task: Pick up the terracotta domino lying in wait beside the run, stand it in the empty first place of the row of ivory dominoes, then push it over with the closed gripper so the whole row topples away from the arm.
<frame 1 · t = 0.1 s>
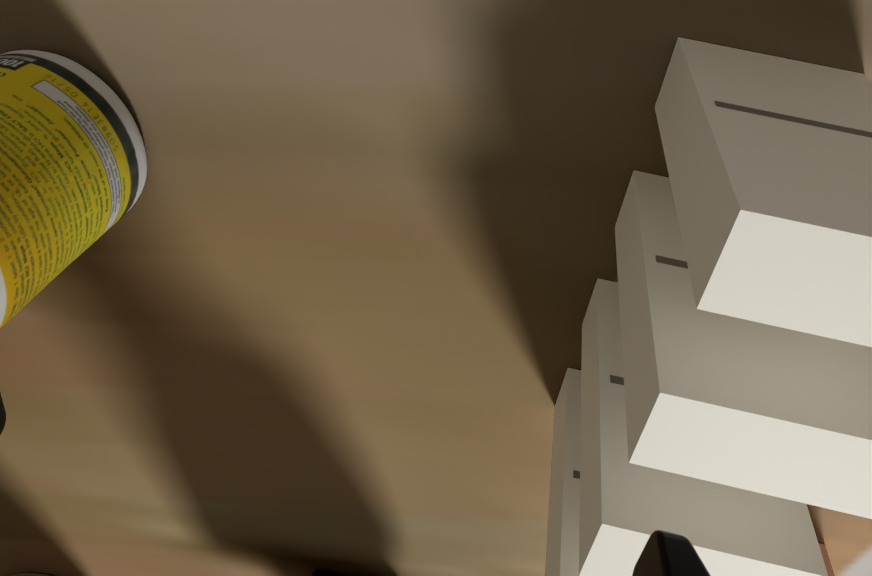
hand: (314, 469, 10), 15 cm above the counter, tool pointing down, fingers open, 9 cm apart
ivory domino 2: (627, 402, 27), on the counter
ivory domino 3: (662, 317, 25), on the counter
ivory domino 5: (755, 91, 20), on the counter
ivory domino 4: (704, 216, 23), on the counter
pill bottle: (69, 134, 25), on the counter
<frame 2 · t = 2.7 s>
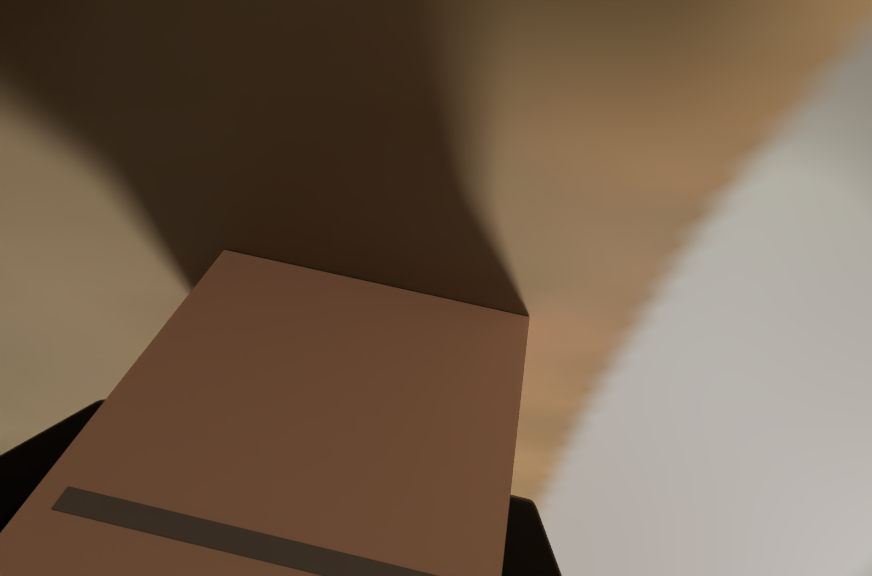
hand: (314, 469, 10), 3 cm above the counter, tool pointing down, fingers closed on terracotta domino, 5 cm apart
terracotta domino: (369, 331, 12), on the counter, touching gripper
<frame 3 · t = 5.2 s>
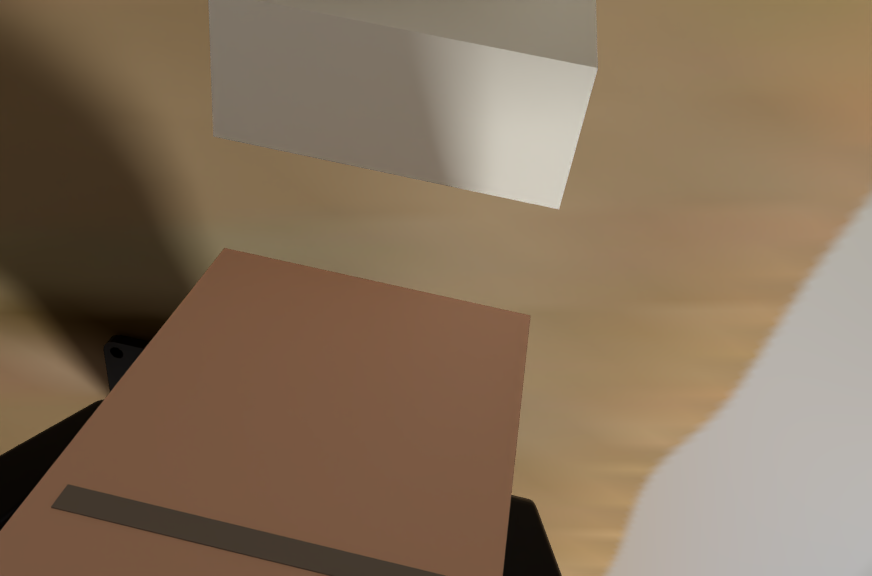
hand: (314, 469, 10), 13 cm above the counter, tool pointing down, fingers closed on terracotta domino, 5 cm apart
terracotta domino: (369, 330, 12), point 10 cm above the counter, touching gripper
when the fingers open (4 cm above the counter, at t = 7.5 s): terracotta domino stays where it is, on the counter.
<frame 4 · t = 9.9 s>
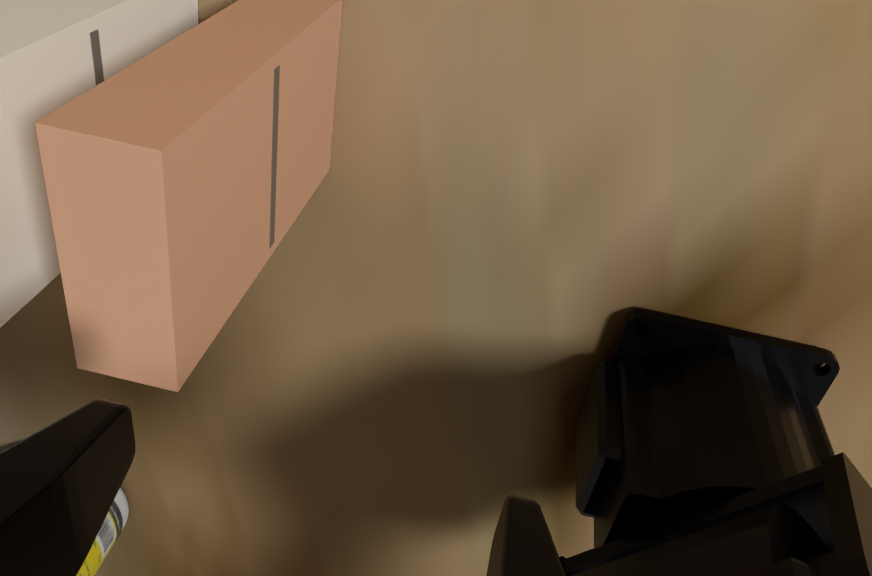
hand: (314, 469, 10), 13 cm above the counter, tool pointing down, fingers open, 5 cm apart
terracotta domino: (301, 81, 21), on the counter
ivory domino 2: (166, 55, 21), on the counter
pill bottle: (71, 482, 33), on the counter
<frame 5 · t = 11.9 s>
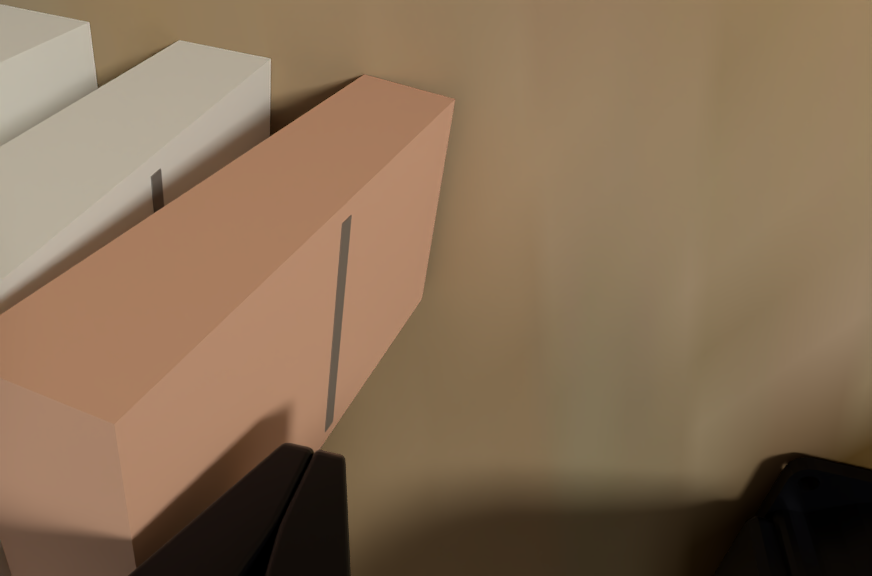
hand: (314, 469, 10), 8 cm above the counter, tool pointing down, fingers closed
terracotta domino: (395, 194, 16), on the counter, tilted 10°
ivory domino 2: (227, 158, 17), on the counter
ivory domino 3: (62, 123, 17), on the counter
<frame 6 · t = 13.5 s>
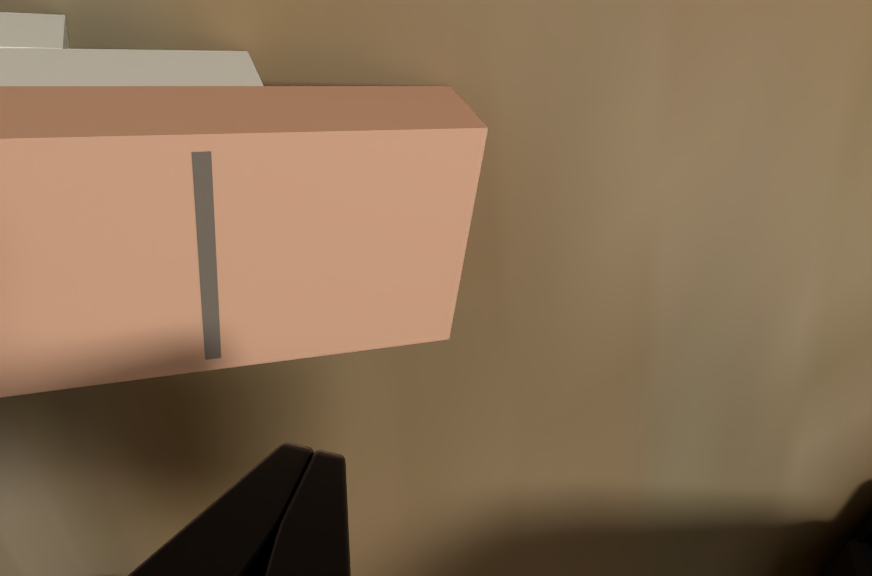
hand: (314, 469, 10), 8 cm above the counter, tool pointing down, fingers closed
terracotta domino: (449, 218, 16), point 1 cm above the counter, tilted 60°, touching ivory domino 2
ivory domino 2: (256, 182, 16), point 1 cm above the counter, tilted 60°, touching ivory domino 3, terracotta domino
ivory domino 3: (79, 145, 16), point 1 cm above the counter, tilted 60°, touching ivory domino 2, ivory domino 4
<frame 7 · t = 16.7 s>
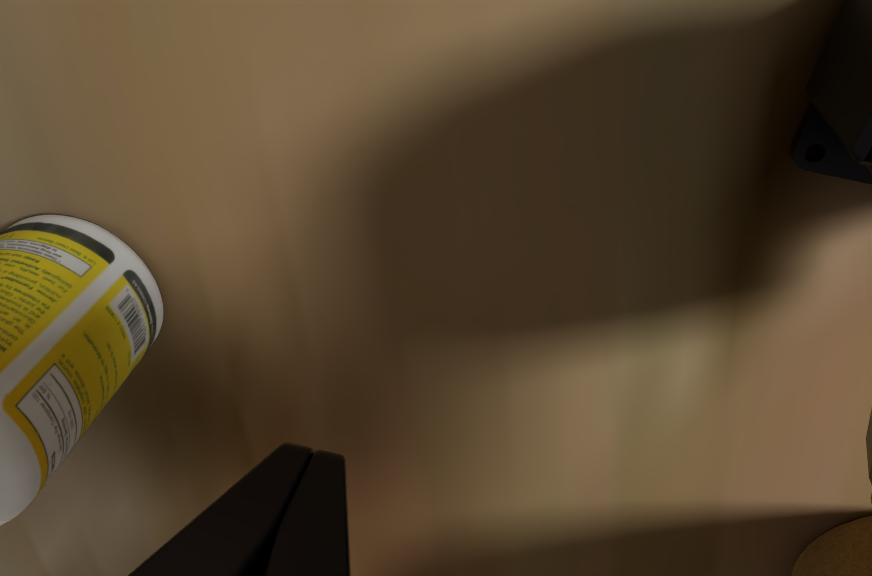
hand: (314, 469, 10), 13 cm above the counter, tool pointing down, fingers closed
pill bottle: (90, 282, 26), on the counter
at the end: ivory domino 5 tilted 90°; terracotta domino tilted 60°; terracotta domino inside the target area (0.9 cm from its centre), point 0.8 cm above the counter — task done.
